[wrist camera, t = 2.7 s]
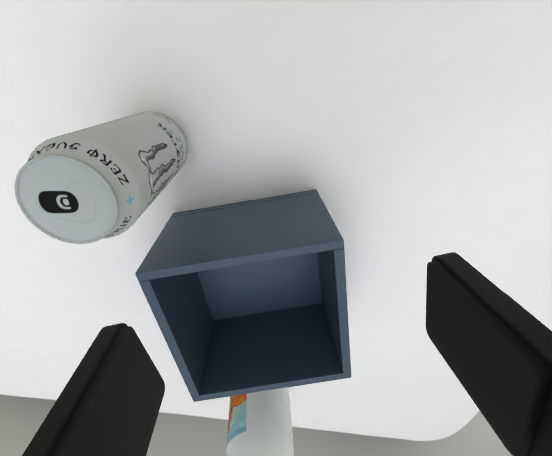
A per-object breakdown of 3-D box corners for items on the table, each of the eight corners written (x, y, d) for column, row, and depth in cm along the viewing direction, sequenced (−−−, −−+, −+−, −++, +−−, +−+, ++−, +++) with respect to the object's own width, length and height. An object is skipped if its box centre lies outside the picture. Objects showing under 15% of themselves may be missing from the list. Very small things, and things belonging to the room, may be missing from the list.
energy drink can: (192, 174, 30) (140, 252, 16) (132, 175, 29) (27, 254, 16) (185, 110, 27) (114, 141, 14) (117, 110, 27) (-22, 142, 13)
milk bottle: (264, 339, 41) (269, 541, 23) (296, 368, 44) (322, 566, 26) (222, 364, 42) (196, 570, 25) (255, 390, 45) (254, 590, 28)
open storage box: (172, 213, 32) (134, 273, 22) (316, 189, 31) (343, 239, 21) (209, 320, 39) (193, 402, 29) (327, 301, 38) (351, 377, 28)
